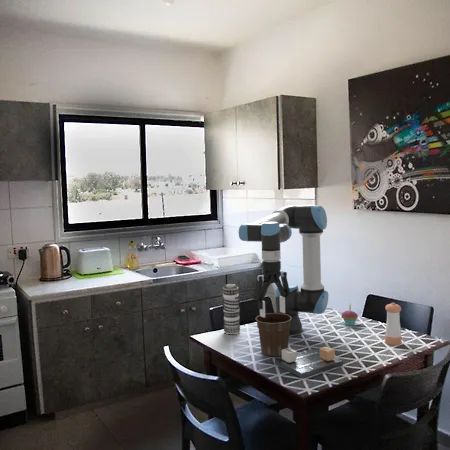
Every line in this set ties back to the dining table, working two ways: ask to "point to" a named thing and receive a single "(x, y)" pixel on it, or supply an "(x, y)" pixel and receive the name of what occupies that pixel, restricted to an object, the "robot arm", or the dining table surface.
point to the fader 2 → (327, 353)
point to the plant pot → (273, 333)
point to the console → (308, 363)
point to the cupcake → (349, 317)
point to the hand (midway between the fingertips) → (272, 314)
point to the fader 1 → (289, 355)
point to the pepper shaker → (393, 325)
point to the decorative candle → (231, 309)
